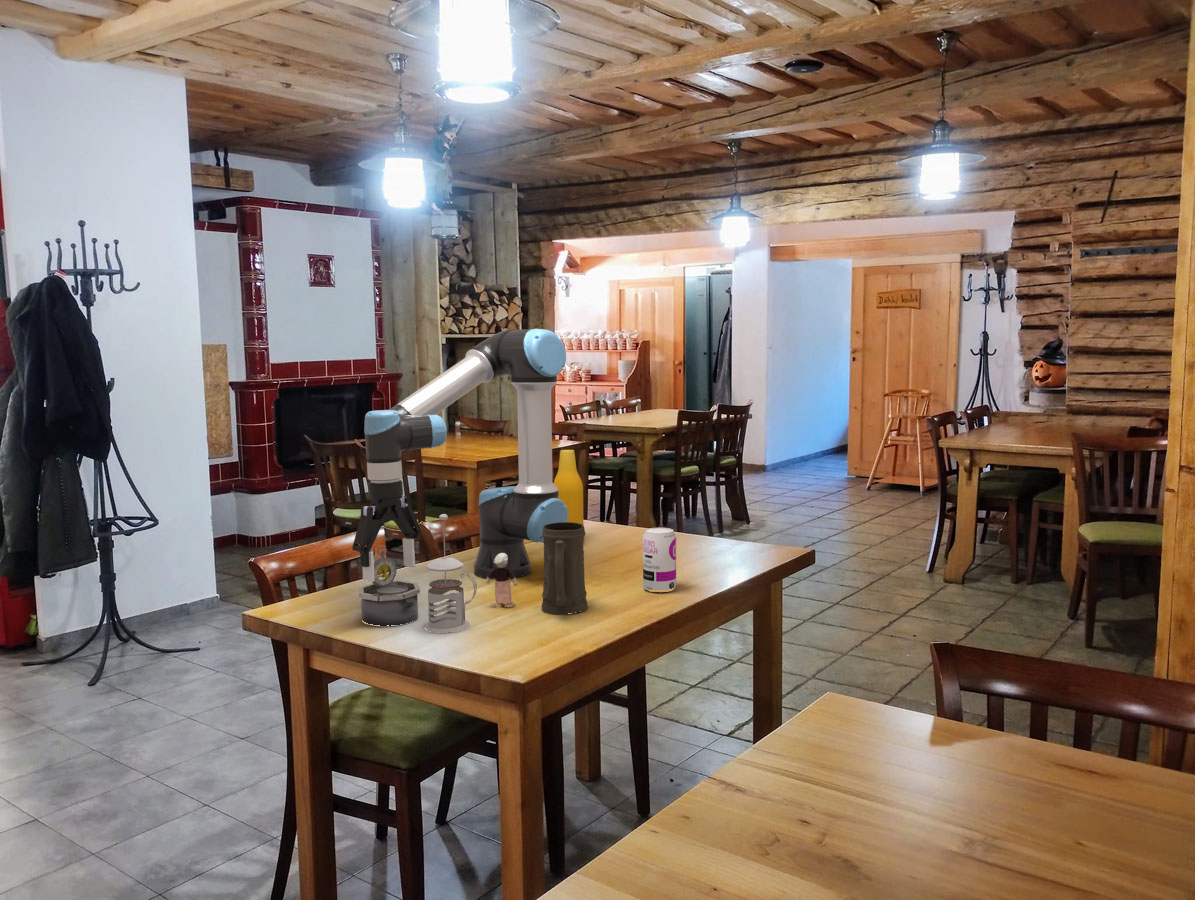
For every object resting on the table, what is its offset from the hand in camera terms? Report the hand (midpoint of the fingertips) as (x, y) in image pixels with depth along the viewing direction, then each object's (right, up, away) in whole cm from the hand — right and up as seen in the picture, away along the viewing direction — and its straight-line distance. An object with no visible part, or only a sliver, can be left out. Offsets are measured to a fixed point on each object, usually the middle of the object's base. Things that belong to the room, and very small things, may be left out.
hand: (389, 573), depth 214 cm
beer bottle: (+38, -1, +74) cm, 83 cm away
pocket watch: (0, -5, 0) cm, 5 cm away
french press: (+15, -11, -5) cm, 19 cm away
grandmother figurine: (+24, -9, +10) cm, 28 cm away
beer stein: (+39, -10, +5) cm, 41 cm away
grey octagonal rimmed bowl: (0, -10, +1) cm, 10 cm away
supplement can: (+62, -7, +23) cm, 67 cm away
